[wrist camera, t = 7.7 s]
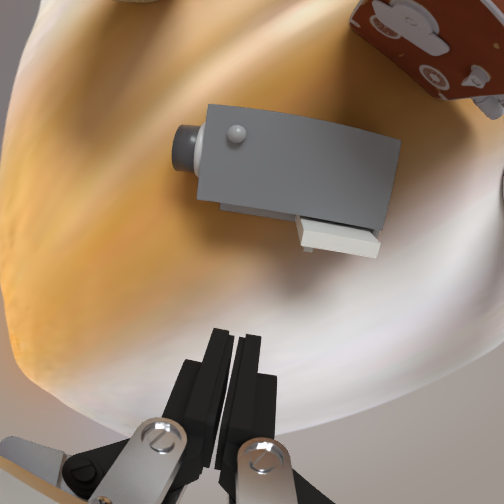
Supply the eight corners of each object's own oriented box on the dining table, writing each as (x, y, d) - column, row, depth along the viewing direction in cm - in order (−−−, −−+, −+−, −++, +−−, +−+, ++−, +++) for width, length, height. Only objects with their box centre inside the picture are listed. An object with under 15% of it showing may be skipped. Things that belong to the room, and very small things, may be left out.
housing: (381, 139, 30) (405, 141, 24) (361, 232, 34) (379, 253, 28) (193, 107, 30) (174, 101, 24) (182, 203, 34) (163, 217, 28)
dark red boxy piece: (459, 140, 29) (583, 162, 10) (336, 32, 26) (396, -64, 7) (487, 92, 25) (601, 90, 7) (373, -12, 23) (441, -101, 4)
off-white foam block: (357, 219, 32) (380, 243, 25) (353, 237, 33) (374, 266, 26) (297, 207, 33) (303, 229, 25) (293, 226, 33) (298, 254, 26)
